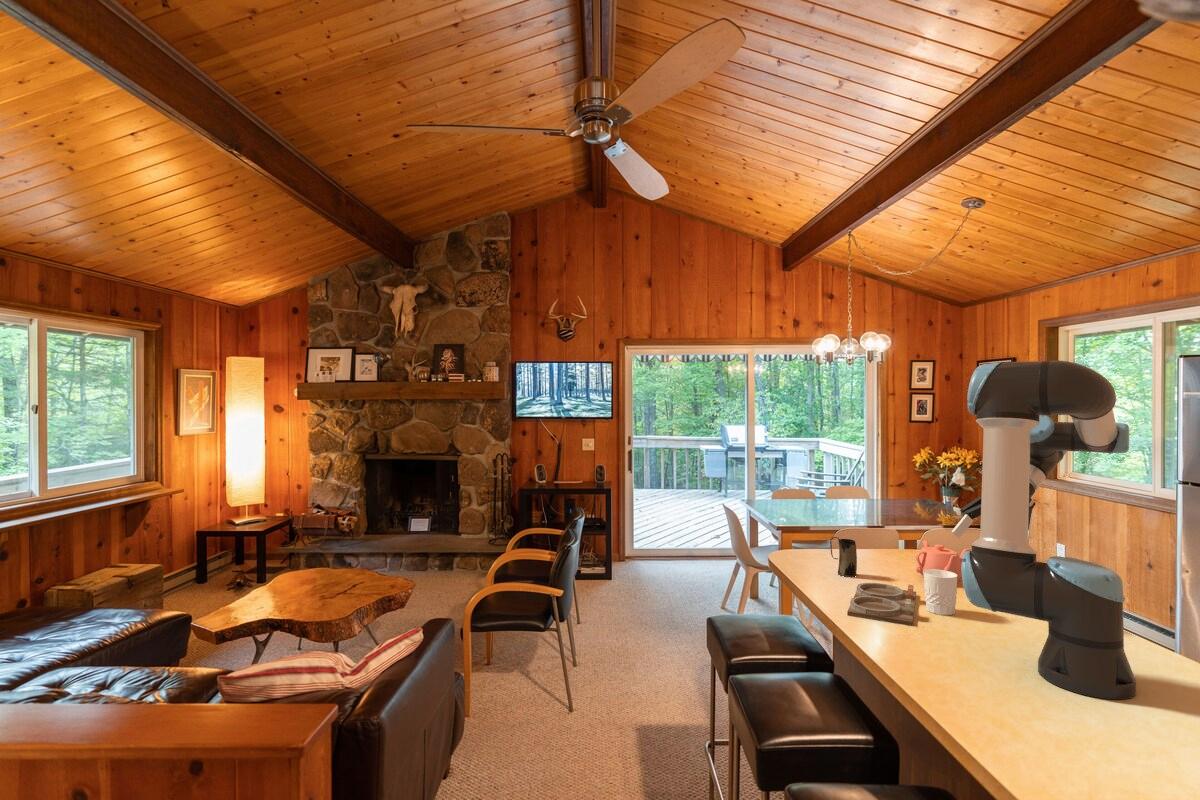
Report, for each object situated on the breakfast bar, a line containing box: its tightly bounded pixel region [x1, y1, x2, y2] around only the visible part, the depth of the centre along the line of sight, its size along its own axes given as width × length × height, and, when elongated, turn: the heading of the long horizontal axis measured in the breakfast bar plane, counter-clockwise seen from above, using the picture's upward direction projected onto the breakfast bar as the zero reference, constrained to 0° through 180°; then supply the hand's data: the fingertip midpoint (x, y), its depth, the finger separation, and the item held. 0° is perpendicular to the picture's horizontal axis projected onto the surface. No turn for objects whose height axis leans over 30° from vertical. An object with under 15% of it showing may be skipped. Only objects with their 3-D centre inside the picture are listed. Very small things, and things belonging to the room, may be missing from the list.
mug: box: [829, 536, 858, 578], centre depth 193 cm, size 8×6×12 cm
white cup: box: [923, 569, 958, 616], centre depth 159 cm, size 8×8×10 cm
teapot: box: [915, 539, 972, 583], centre depth 187 cm, size 14×14×11 cm
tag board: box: [846, 582, 917, 626], centre depth 164 cm, size 27×15×4 cm, turn 150°
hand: (975, 540), depth 162 cm, fingers open, 13 cm apart
